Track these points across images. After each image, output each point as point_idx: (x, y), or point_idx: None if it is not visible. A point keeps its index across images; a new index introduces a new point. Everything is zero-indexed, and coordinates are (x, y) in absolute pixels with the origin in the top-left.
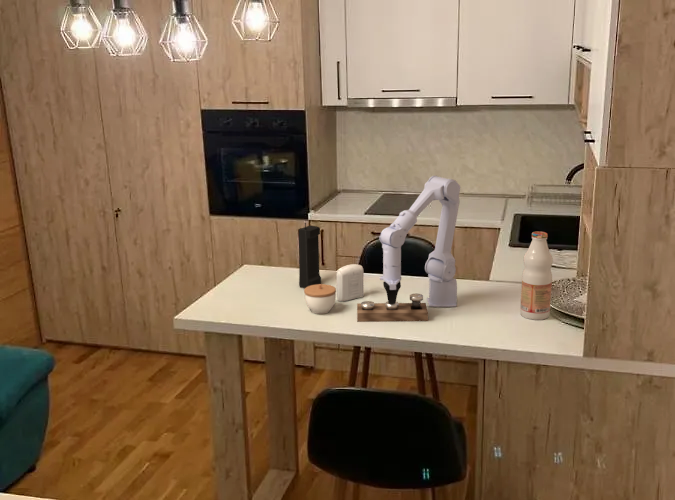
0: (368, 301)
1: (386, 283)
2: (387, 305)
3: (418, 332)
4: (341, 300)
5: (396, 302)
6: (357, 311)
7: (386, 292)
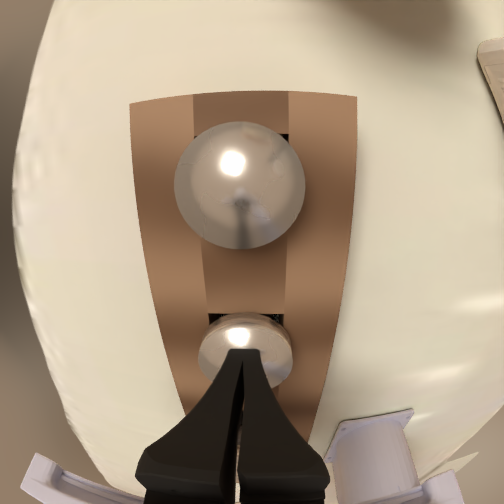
0: (292, 195)
1: (217, 494)
2: (207, 337)
3: (93, 371)
4: (480, 51)
5: None
6: (163, 100)
7: (185, 416)
